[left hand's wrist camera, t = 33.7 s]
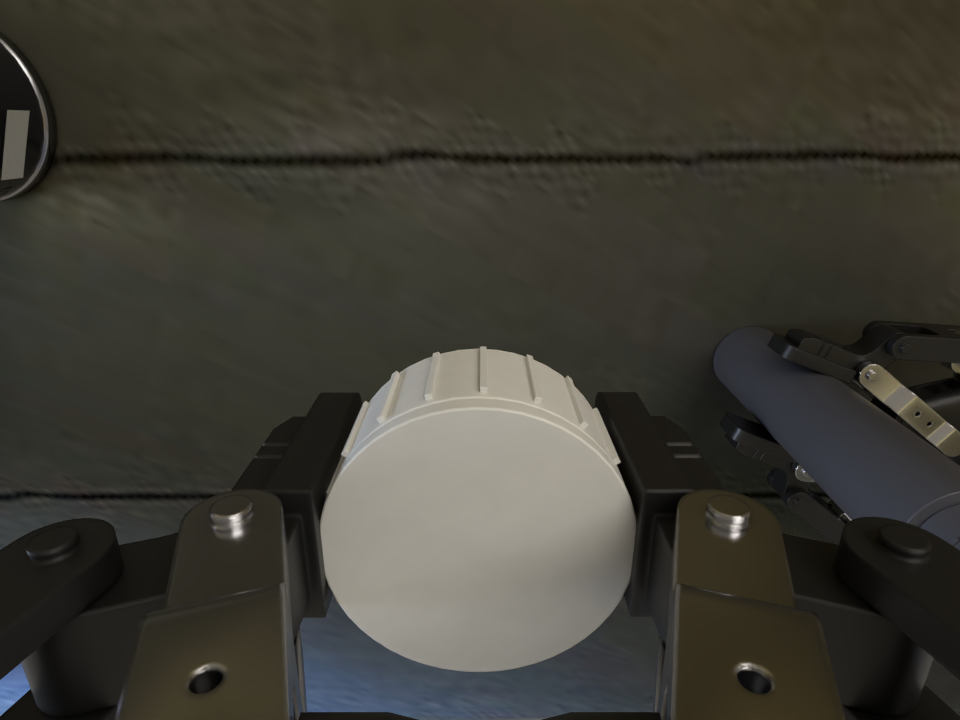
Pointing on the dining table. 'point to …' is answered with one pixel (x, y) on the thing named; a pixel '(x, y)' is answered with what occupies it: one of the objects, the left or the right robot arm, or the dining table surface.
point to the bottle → (842, 438)
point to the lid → (478, 514)
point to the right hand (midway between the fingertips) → (753, 387)
